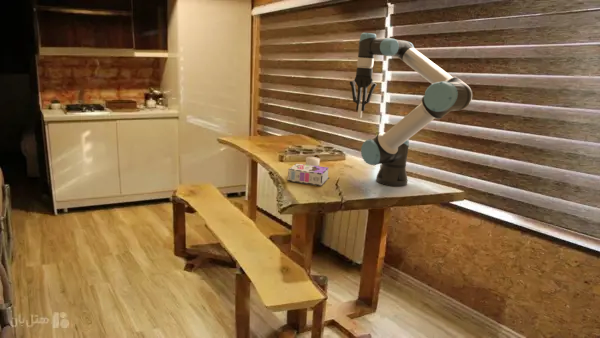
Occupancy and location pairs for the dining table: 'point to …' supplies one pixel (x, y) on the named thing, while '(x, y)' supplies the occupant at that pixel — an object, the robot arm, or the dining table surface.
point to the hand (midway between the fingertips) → (359, 117)
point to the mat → (306, 183)
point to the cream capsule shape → (312, 161)
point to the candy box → (308, 174)
